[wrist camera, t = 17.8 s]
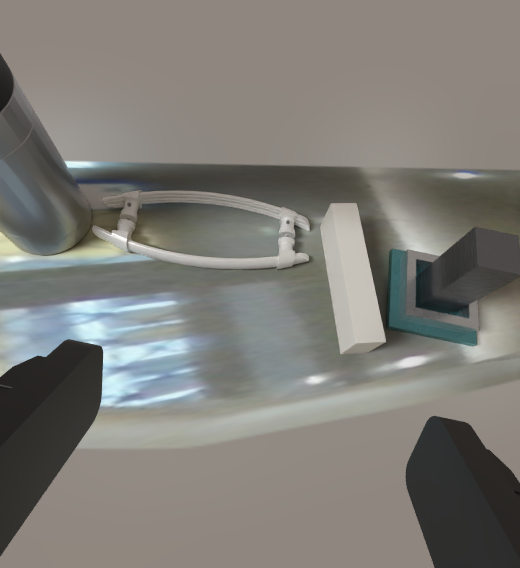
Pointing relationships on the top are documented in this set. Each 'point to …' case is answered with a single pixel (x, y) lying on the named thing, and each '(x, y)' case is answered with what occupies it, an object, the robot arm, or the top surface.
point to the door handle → (138, 198)
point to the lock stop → (469, 271)
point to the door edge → (351, 280)
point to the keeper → (424, 321)
